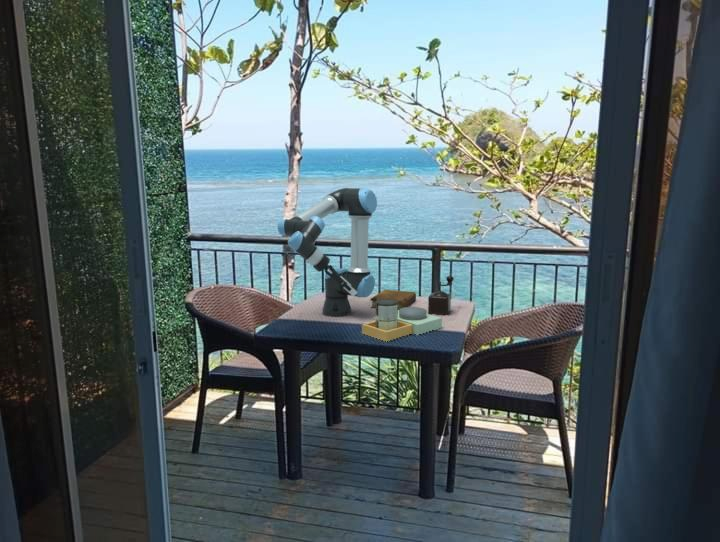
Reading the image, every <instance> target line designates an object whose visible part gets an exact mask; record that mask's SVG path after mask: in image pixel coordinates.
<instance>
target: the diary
mask: <svg viewBox="0 0 720 542" xmlns="http://www.w3.org/2000/svg"><path fill="white" fill-rule="evenodd" d="M385 298H389V299H396V300H398V310H400V309H401V308H405V307H408V306H409V307H411V305H412V304H413V303H415V302H416V300H417V293H416V292H415V291H406V290H392V289H383V290H381V291H380V292H379V293H377V294H376V295H374V296H373V297H371V298H370V301H371V307H370V309H375V310H376V302H375V301H376V300H378V299H385Z"/></svg>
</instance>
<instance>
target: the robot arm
mask: <svg viewBox="0 0 720 542" xmlns="http://www.w3.org/2000/svg"><path fill="white" fill-rule="evenodd" d="M377 207H378V200H377V195H376V193H374V191H373V190H372V189H370V188H362V187H361V188H357V187H355V188H354V187H353V188H352V187H350V188H349V187H343V188H340V189H337V190H334V191H332V192H330V193H328V194H327V195H325V196H324V197H323V198H322V200H321V201H318V202H317V203H316V204H313V205H312V206H310V207H308V208H307V209H304V210H303V211H301V212H300V213H298V214H296V215H294V216H293V217H291V218H290V219H287V218H285V219H283V218H282V219H280V221H279V222H278V223H277V231H278V233H279V235H280V236H285V237H289V239H288V240H287V244H288V246H289V247H290V248H291V249H292V250H293V251H294V252H295V253H297V255H299V256H300V257H301V258H303V259H304V261H306V262H305V263H306V264H309V265H310V266H312V268H313V269H314V270H315V271H317V273H318V272H322V271H323V270H324V273H325V274H324V287H325V288H324V290H325V295H324V296H325V297H324V298H325V299H324V302H323V306H322V310H321V311H322V314H323V315H325V316H329V317H346V316H349V315H351V314H352V307H351V304H350V303H351V302H350V300H349V297H348V296H351V297H355V298H356V297H357V298H368V297H369V296H370V295H371V294H372V293H373V291H374V290H375V289H374V288H375V285H376V280H375V277H374V276H373V275H371V270H370V268H369V267H368V265H369V264H368V262H369V261H368V260H369V259H368V258H369V255H368V254H369V221H370V219H371V218H372V216H373V213H375V211H376V210H377ZM338 212H348V213H347V214H348V215H347V216H348V217H349V218H350V219H351V224H350V227H351V228H350V238H351V239H350V267H349V268H348V269H347V268H334V266H332V265H331V264H330V263H331V262H330V261H331V259H330V258H329V256H327V255H326V254H325V253H324V252H323V251H322V250H320V249H319V248H318V246H316V245H315V242H316V241H317V240H318V238H319V237H320V235H321V234H322V233H323V230H324V228H325V227H326V223H325V221H324V220H323V219H324V218H326V217H327V216H329V215H330V214H332V215H334V214H336V213H338Z"/></svg>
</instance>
